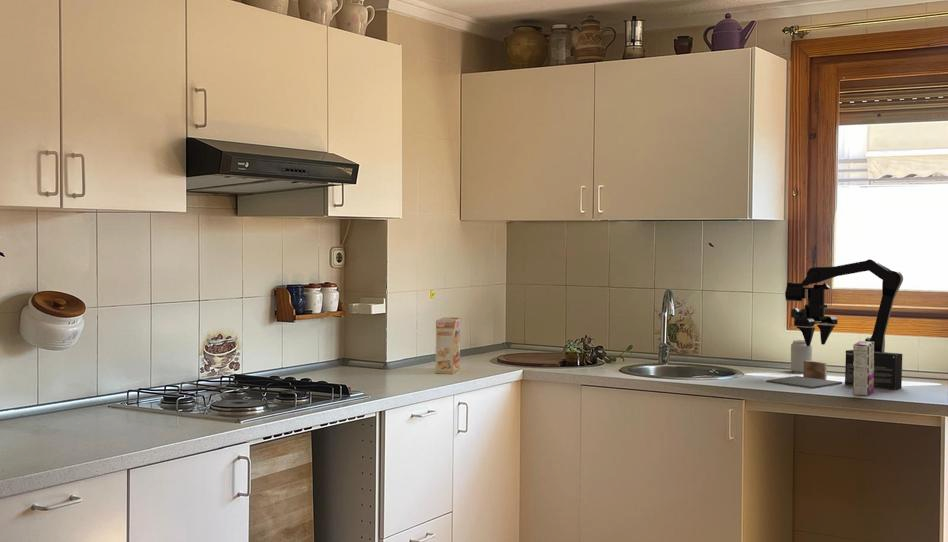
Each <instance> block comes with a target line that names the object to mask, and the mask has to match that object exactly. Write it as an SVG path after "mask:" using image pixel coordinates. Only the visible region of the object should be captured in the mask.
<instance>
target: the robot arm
mask: <svg viewBox="0 0 948 542" xmlns="http://www.w3.org/2000/svg"><path fill="white" fill-rule="evenodd" d="M864 272H870V273H872V274H873V275H875V276H876V277H878V278H879V279H880V280H881V281H882V285H881V286H882V287H881V288H882V291H881V292H882V295H881V299H880V304H879V307H878V308H879V309H878V310H877V311H878V312H877V315H876V319H875V324H874V327H873V331H872V334H871V337H866V338H865V339H864V341H868V342H874V352H885V348H886V338H885V337H886V332H887V328H888V325H889V321H890V317H891V313H892V309H893V305H894V302H895V299H896V296H897V294H898V292H899V290H900V288H901V286H902V283H903V281H904V276H903V274H902V273H901V271H898V270H894V269H890V268H889V267H886V266H885V265H883V264H881V263H879V262H878V261H877V260H876V259H873V258H871V259H866V260H863V261H862V260H861V261H856V262H853V263H847V264H841V265H835V266H814V267H810V268H808V270H807V271H806V276H805V277H804V279H803V280H802V281H801V282H792V281H791V282H790V281H789V282H788V281H787V282H786V287H785V291H784V294H785V295H784V296H785V301H786V302H804V299H807V304H804V307H803V309H799V308H798V307H795V308H791V310H790V317H791V318H793V326H794V327H795V328H796V329H798V330H799V331H800V332H801V333H802V337H803V340H805V343H806V346H810V344H811V345H812V341H813V336H814V334H815V329H816V327H814V326H815V325H816V326H817V327H818V328H819V334H820V344H821V345H822V346H823V345H826V343H827V340H828V339H829V337H830V335H831V333H832V332H833V331H834V328H835V327H836V325H838V321H839V320H838V318H837V317H836V316H833V315H831V316H830V315H829V316H828V315H825V309H827V308H828V305H827V304H825V301H826V300H825V299H826V298H825V296H826V292H825V291H826V290H831V286H829V285H828V283H827V282H825V281H829V280H831V279H833V278H836V277H840V276H845V275H852V274H857V273H864ZM823 282H824V283H823ZM819 283H820V284H819ZM821 283H823V284H821ZM813 284H814V285H813ZM812 285H813V287H812ZM809 286H811V287H809Z"/></svg>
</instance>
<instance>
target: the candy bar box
mask: <svg viewBox="0 0 948 542" xmlns="http://www.w3.org/2000/svg"><path fill="white" fill-rule="evenodd" d="M852 347H853V348H852V350H854V351H853V385H852V390H853V391H852V395H853V394H854V395H853V396H862V395H867V396H866V397H870V395H871V394H873V392H875V388H874V342H868V341H865V340H861V341H860V340H859V341H857V342H855V343H854V344H853V346H852Z"/></svg>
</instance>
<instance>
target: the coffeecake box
mask: <svg viewBox="0 0 948 542" xmlns="http://www.w3.org/2000/svg"><path fill="white" fill-rule="evenodd" d="M461 319H462V318H461V317H454V316H452V317H451V316H450V317H449V316H448V317H442V318H439V319H436V320H435V374H440V375H441V374H444V375H447V374H448V375H454V374H455V373H457V372H458V371H459V370H460V369H461V324H462V323H461V322H462V321H461Z"/></svg>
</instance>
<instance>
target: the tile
mask: <svg viewBox="0 0 948 542" xmlns="http://www.w3.org/2000/svg"><path fill="white" fill-rule="evenodd" d="M827 365H828V364H827V362H822V361H813V360H812V361H804V373H802V374H803V376H802V377H808V378H816V379H823V380H827V372H828V371H827V370H828V369H827V368H828V366H827Z"/></svg>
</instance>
